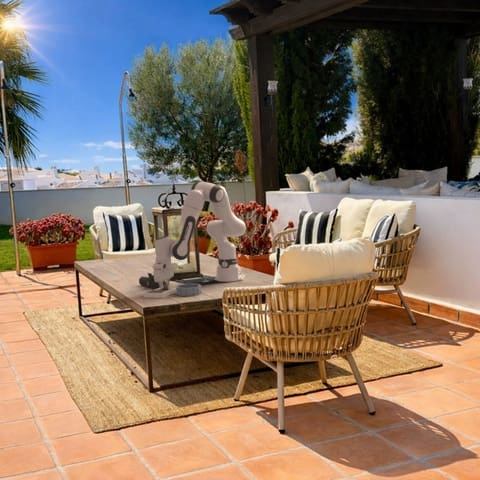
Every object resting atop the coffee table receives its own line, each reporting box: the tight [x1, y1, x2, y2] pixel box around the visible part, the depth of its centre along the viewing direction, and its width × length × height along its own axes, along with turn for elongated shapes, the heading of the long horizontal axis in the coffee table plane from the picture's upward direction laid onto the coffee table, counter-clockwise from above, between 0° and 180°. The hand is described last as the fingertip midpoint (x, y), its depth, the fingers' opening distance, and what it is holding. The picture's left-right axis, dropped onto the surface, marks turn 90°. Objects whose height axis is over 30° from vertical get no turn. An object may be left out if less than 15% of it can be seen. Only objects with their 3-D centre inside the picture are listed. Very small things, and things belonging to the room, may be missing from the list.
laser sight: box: [138, 272, 160, 289], centre depth 389 cm, size 10×22×10 cm, turn 44°
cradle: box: [143, 287, 176, 299], centre depth 366 cm, size 21×12×3 cm, turn 162°
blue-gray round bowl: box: [175, 283, 202, 297], centre depth 363 cm, size 14×14×5 cm
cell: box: [161, 280, 169, 291], centre depth 370 cm, size 4×4×7 cm
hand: (164, 287), depth 370 cm, fingers open, 7 cm apart
